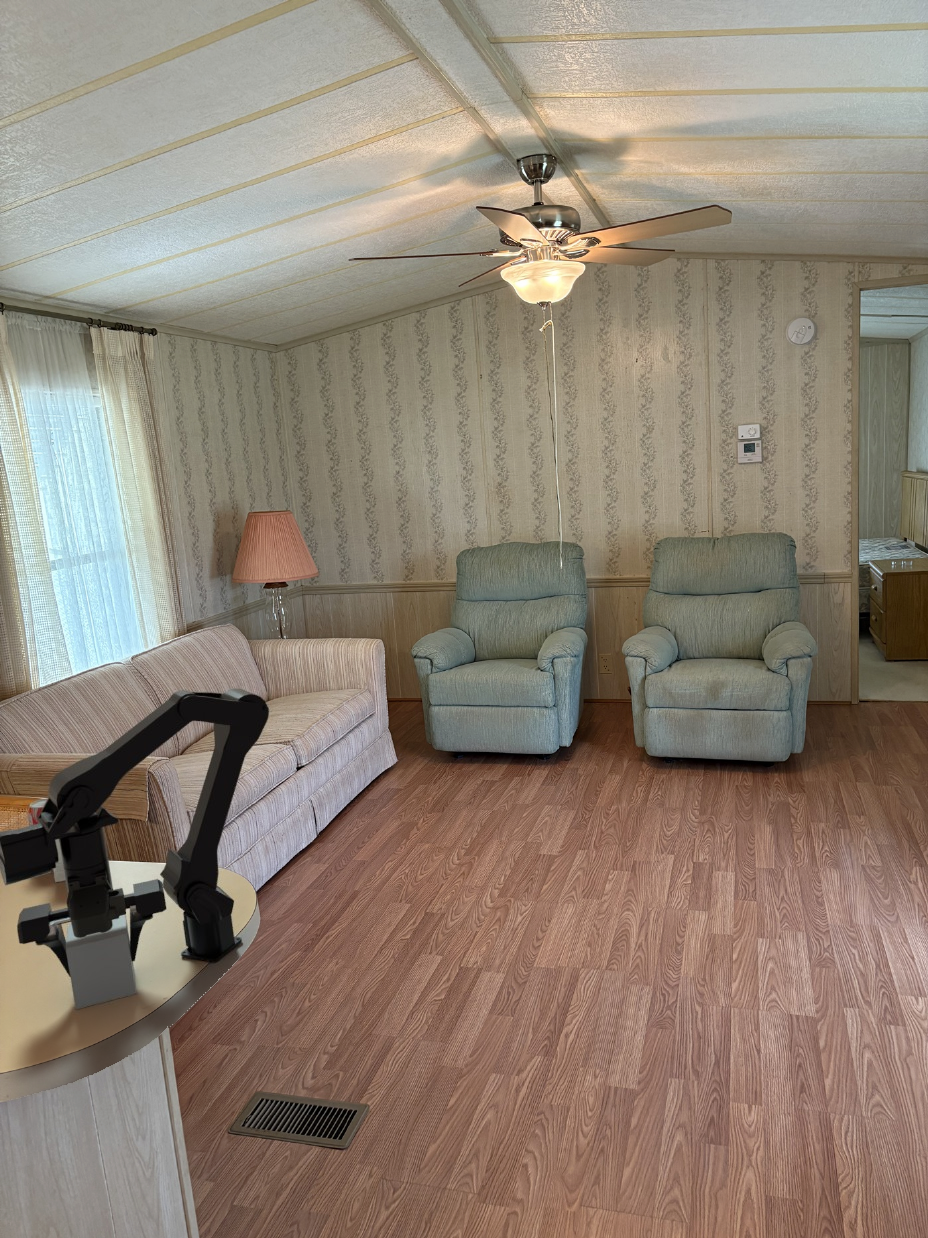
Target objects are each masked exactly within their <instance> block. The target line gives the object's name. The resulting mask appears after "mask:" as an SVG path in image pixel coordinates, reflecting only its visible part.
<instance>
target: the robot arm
mask: <svg viewBox="0 0 928 1238" xmlns="http://www.w3.org/2000/svg"><path fill="white" fill-rule="evenodd" d="M269 714H270V709H269V706H268V704H267V702H266V700H265V699H263V698H262V697H261V696H260V695H258V694H255V693H252V692H249V691H247V690H244V689H242V688H231V689H228V690H227V691H225V692H223V693H222V692H213V691H212V692H209V691H189V690H187V689H186V690H185V689H179V690H177V691H175V692H174V693H171V695H170V697H169V698H168V699H167V700H166V701H165V702H163V703H162V704H161V705H159V706H158V707H157V708H156V709H154V710H153V711H152V712H151V713H149V714H148V715H146V716H145V717H144V718H143V719H142V720H140V721H139V722H138V723H137V724H135V725H134V726H133V727H131V728H130V729H129V730H127V731H126V732H125V733H124V734H122V735H121V736H120V737H118V739H116V740H114V741H113V742H112V743H111V744H110V745H108V746H107V747H106V748H104V749H103V750H101V751H99V752H97V753H95V754H93V755H90V756H88V757H85V758H82V759H80V760H78V761H76V762H75V763H72V764H71V765H69V766H67V767H66V768H64V769H62V770H60V771H59V772H57V773H56V774H55V775H54V776H53V777H52V779H51V780H50V782H49V786H48V797H47V798H48V799H47V801H46V803H45V805H44V807H43V808H42V810H41V812H40V814H39V816H38V817H37V821H38V823H39V824H36V825H32V826H29V825H27V826H24V827H22V828H21V827H20V828H17V829H9V830H3V831H0V874H1V879H2V880H3V883H4V885H5V886H8V885H12V884H17V883H19V882H23V881H26V880H30V879H33V878H36V877H41V876H43V875H47V874H50V873H52V870H53V869H54V868H56V863H58V861H59V858H58V851H57V846H56V841H55V840H57V839H59V843H60V849H61V855H62V861H63V868H64V874H65V884H66V891H67V896H66V907H65V908H61V909H56V910H52V905H51V903H50V902H48V903H43V904H38V905H34V906H29V907H25V908H22V910H21V911H20V913H19V914H18V915H19V916H18V920H17V925H16V927H17V929H16V930H17V931H16V932H17V937H18V942H19V943H18V944H22V945H26V944H31V943H34V942H35V945H36V946H45V947H47V948H49V949H50V950H51V951H52V952H53V953H54V955H55V956H56V957H57V959H58V961H59V963H60V964H61V966H62V967H63V969H64V970H65V972H66V973H67V975H68V977H70V971H69V965H68V959H67V953H66V936H65V933H64V930H63V926H62V925H64V924H67V923H68V924H69V923H70V924H72V929H73V933H74V936H75V937H77V938H82V937H86V936H87V935H90V934H94V933H98V932H101V933H103V932H107V931H109V930H110V929H111V928H112V926H113V923H112V920H114V919H118V918H119V916H121V915H126V914H127V910H129V939H130V952H131V959H132V962H133V963H134V962H135V961H136V956H137V951H138V946H139V942H140V941H139V940H140V935H141V932H142V930H143V927H144V925H145V923H146V922H147V921H150V920H152V919H153V918H154V915H155V914H159V913H163V912H165V911H166V910H167V903H166V897H165V894H166V895H167V896H168V897H169V898H170V899H171V900H172V901H173V903H174V904H176V905H177V907H178V908H180V909H181V911H183V913H182V915H183V920H182V927H183V932H184V941H185V945H186V947H187V948H185V949H184V950H183V951H181V953H180V954H181V955H180V956H181V957H183V958H188V959H194V960H199V961H206V962H212V963H215V962H218V961H219V960H221V958H223V957H224V956H226V955H227V954H228V953H229V952H231V951H233V949H234V948H236V947H237V946H239V944H241V943H242V942H243V939H242V937H239V936H235V932H234V925H233V918H232V914H233V910H234V905H235V900H234V899H233V898H232V897H231V896H230V895H228V894H227V892H225V891H224V890H223V889H222V888H221V887H220V886H218V881H219V874H220V873H219V860H218V859H219V858H218V849H219V845H220V842H221V838H222V835H223V832H224V829H225V825H226V821H227V818H228V815H229V812H230V808H231V805H232V802H233V798H234V796H235V791H236V788H237V786H238V782H239V778H240V775H241V772H242V768H243V765H244V762H245V759H246V756H247V754H248V753H249V751H251V749H252V748H253V747H254V746H255V745H256V743H257V742H258V740H259V739H260V736H261V735H262V733H263V731H264V729H265V726H266V724H267V722H268V719H269V718H270V717H269ZM191 722H203V723H209V724H213V734H214V735H213V736H214V749H213V751H212V755H211V758H210V761H209V765H208V768H207V772H206V774H205V778H204V781H203V785H202V789H201V792H200V795H199V798H198V802H197V804H196V808H195V811H194V815H193V818H192V821H191V823H190V824H191V825H190V827H189V830H188V834H187V838H186V840H185V842H184V843H183V844H182V846H181V847H180V848H179V849H178V850H176V849H172V848H170V849H168V852H167V855H166V861H165V862H166V863H165V865H164V868H163V869H162V871H161V872H160V874H159V875H160V876H161V877H162V878H163V880H162V881H161V880H160V879H158V878H156V879H152V880H148V881H142V882H138V883H134V884H132V885H133V892H132V893H126V894H124V890H123V888H122V887H120V888H115V889H114V886H113V880H112V874H111V868H110V861H109V856H108V855H109V854H108V847H107V841H106V835H105V829H104V828H105V827H109V826H113V825H116V824H118V823H119V818H118V817H117V816H116V815H115V814H114V813H113V812H112V811H109V810H107V809H106V808H105V807H104V806H103V805H104V803H105V802H106V801H107V800H108V799H109V798H110V797H111V796H112V794H113V793H114V791H115V790H116V788H117V786H118V785H119V783H120V782H121V780H122V779H123V778H124V777H125V776H126V775H127V774H128V773H129V772H130V771H132V770H133V769H134V768H135V767H137V766H138V765H139V764H140V763H141V762H143V761H144V760H146V758H148V757H149V756H150V755H152V754H153V753H154V752H155V751H156V750H158V749H159V748H160V747H162V746H163V745H164V744H165V743H167V741H169V740H170V739H171V738H172V737H174V736H175V735H177V734H178V733H179V732H180V731H181V730H183V729H184V728H186V727H187V726H188V725H189V724H191ZM126 916H127V915H126ZM70 978H71V977H70Z"/></svg>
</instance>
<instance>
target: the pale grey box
mask: <svg viewBox="0 0 928 1238" xmlns="http://www.w3.org/2000/svg"><path fill="white" fill-rule="evenodd" d="M127 921H128V920H127V915H121V916H119V918H118V919H114V920H112V923H113V926H112V928H111V929H110V930H109V931H107V932H103V933H101V932H98V933H94V934H90V935H87V936H86V937H82V938H77V937H75V936H74V933H73V929H72V924H71V923H68V924H67V923H66V924H67V926H66V936H65V940H66V953H67V959H68V965H69V971H70V983H71V988H72V989H71V990H72V995H73V1000H74V1008H75V1010H80V1009H83V1008H86V1007H91V1006H96V1005H98V1004H102V1003H106V1002H110V1000H111V1001H114V1000H118V999H122V998H126V997H129V996H134V995H136V994H137V991H136V976H135V975H136V974H135V965H134V961H133V962H132V959H131V952H130V931H129V926H128V922H127ZM117 998H118V999H117Z"/></svg>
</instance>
